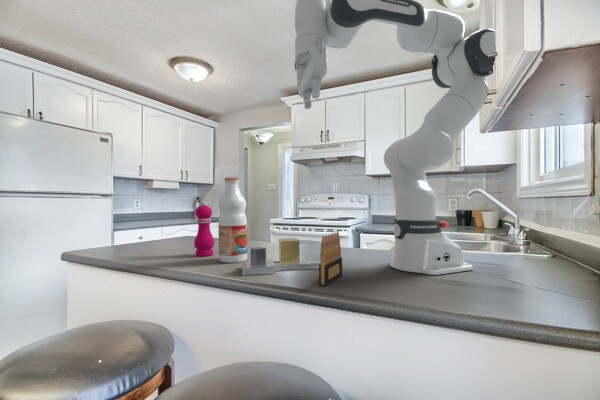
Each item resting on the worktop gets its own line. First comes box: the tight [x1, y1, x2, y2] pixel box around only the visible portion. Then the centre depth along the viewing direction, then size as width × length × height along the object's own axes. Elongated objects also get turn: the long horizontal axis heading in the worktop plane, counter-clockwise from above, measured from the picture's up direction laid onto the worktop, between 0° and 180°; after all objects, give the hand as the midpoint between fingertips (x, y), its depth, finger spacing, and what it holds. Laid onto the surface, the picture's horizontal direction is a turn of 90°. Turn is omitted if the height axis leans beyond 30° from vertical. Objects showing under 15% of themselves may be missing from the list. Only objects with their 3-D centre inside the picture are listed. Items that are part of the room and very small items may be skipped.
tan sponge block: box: [278, 237, 301, 263], centre depth 96 cm, size 6×6×8 cm
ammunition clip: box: [318, 231, 343, 287], centre depth 75 cm, size 11×2×12 cm, turn 150°
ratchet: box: [241, 246, 320, 276], centre depth 88 cm, size 27×9×6 cm, turn 100°
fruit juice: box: [217, 176, 248, 264], centre depth 100 cm, size 9×9×28 cm
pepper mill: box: [193, 200, 215, 258], centre depth 109 cm, size 7×7×20 cm
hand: (311, 103), depth 82 cm, fingers open, 8 cm apart
